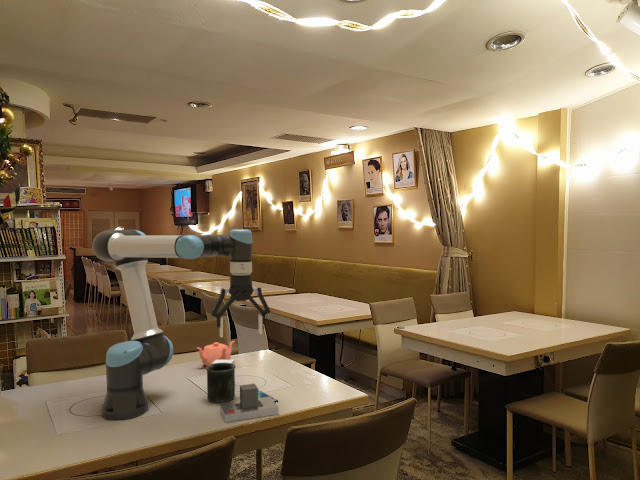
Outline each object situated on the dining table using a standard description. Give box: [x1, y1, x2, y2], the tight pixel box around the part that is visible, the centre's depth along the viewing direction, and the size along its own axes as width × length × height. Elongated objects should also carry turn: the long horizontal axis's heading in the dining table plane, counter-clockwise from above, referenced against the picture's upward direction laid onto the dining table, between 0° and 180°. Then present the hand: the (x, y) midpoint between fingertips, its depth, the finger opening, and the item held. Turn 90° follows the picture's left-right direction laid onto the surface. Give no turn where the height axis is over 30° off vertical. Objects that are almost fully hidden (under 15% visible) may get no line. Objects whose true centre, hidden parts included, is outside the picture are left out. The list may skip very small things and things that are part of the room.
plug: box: [239, 383, 259, 409], centre depth 162 cm, size 5×5×9 cm
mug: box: [205, 363, 236, 404], centre depth 177 cm, size 11×15×12 cm
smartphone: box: [258, 389, 279, 404], centre depth 176 cm, size 7×1×15 cm
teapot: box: [196, 340, 236, 367], centre depth 218 cm, size 14×14×11 cm
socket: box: [219, 396, 279, 423], centre depth 162 cm, size 18×11×3 cm, turn 111°
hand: (241, 335), depth 163 cm, fingers open, 13 cm apart
